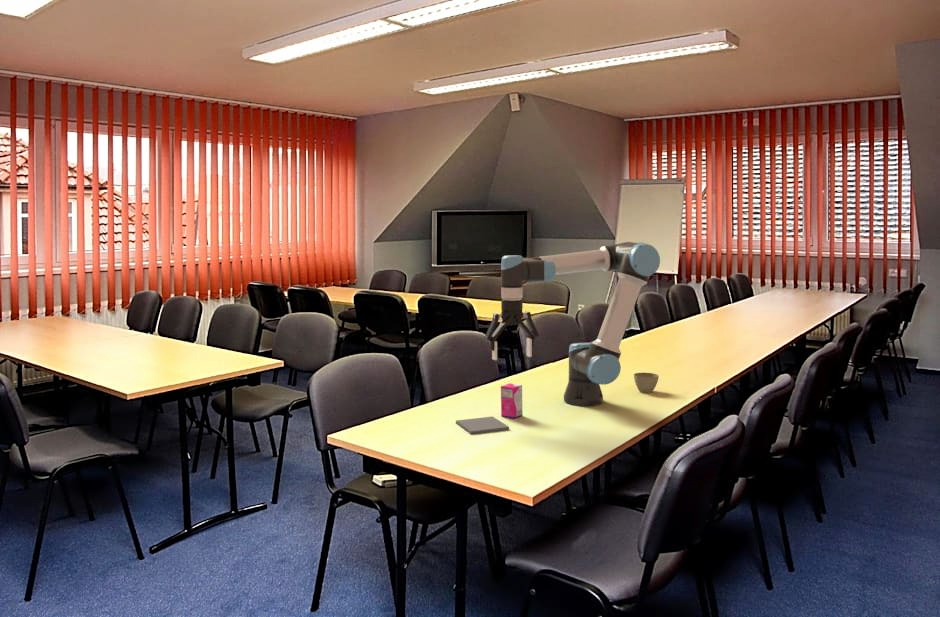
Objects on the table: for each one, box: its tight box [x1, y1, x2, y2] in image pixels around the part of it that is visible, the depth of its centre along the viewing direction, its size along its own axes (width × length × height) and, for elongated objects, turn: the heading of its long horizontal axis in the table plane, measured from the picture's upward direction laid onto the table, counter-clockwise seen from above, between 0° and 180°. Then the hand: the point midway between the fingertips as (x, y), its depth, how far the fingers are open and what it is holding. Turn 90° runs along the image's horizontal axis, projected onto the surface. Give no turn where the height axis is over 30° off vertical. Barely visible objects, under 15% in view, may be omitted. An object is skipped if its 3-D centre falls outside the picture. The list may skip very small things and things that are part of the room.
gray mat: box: [455, 416, 510, 435], centre depth 253 cm, size 14×14×1 cm
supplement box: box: [500, 383, 524, 420], centre depth 266 cm, size 6×6×12 cm
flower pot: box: [633, 372, 659, 394], centre depth 302 cm, size 10×10×7 cm
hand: (512, 358), depth 263 cm, fingers open, 13 cm apart
